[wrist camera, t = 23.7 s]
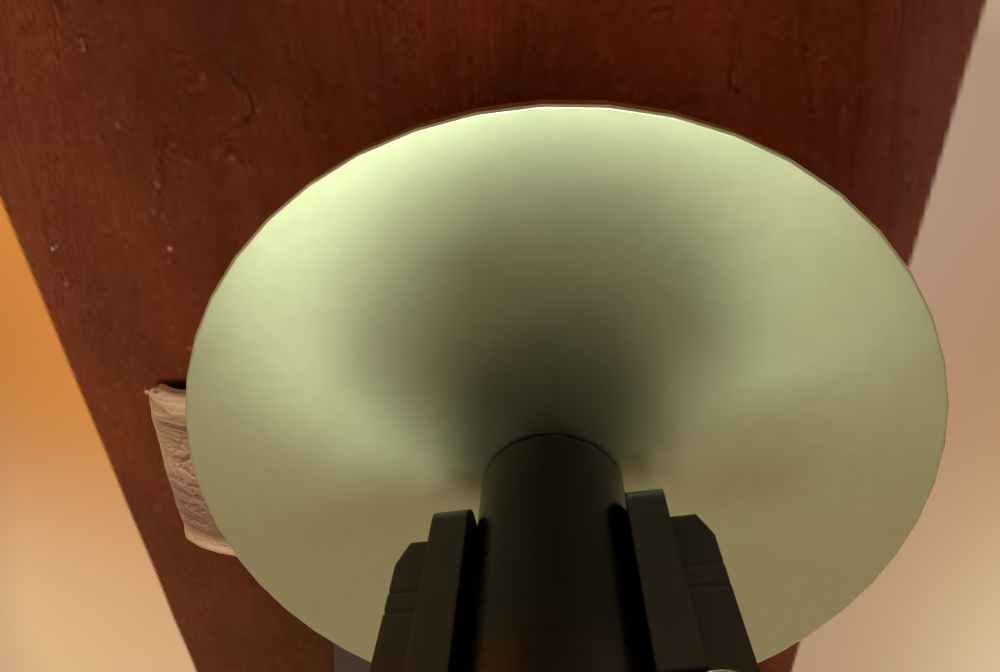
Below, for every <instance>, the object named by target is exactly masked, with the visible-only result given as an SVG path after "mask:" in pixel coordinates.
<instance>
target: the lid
mask: <svg viewBox="0 0 1000 672" xmlns="http://www.w3.org/2000/svg"><path fill="white" fill-rule="evenodd" d="M947 414H948V393H947V381H946V370H945V360H944V356H943V352H942V349H941V345H940V341H939V338H938V334H937V331H936V327H935V323H934V320H933V316H932V314H931V312H930V310H929V308H928V306H927V304H926V302H925V299H924V297H923V295H922V293H921V291H920V289H919V287H918V285H917V283H916V281H915V279H914V277H913V275H912V273H911V271H910V270H909V269H908V267H907V266H906V264H905V263H904V262H903V260H902V259H901V258H900V256H899V255H898V254H897V252H896V251H895V250H894V248H893V247H892V246H891V244H890V243H889V242H888V240H887V239H886V237H885V236H884V235H883V233H882V232H881V231H880V230H879V229H878V228H877V227H876V226H875V225H874V224H873V223H872V222H871V221H870V220H869V219H868V218H867V217H866V216H865V215H864V214H863V213H862V212H860V211H859V210H858V209H857V208H856V207H855V206H854V205H853V204H852V203H851V202H850V201H849V200H848V199H847V198H846V197H845V196H844V195H843V194H842V193H840V192H839V191H838V190H836V189H835V188H833V187H832V186H830V185H829V184H827V183H826V182H824V181H823V180H821V179H820V178H819V177H817V176H816V175H814V174H813V173H811V172H810V171H808V170H807V169H805V168H804V167H802V166H801V165H799V164H798V163H796V162H795V161H794V160H792V159H791V158H789V157H787V156H786V155H784V154H783V153H781V152H779V151H776V150H774V149H772V148H770V147H768V146H766V145H764V144H762V143H760V142H757V141H755V140H753V139H751V138H749V137H747V136H745V135H743V134H740V133H738V132H736V131H734V130H732V129H730V128H727V127H724V126H721V125H717V124H714V123H711V122H707V121H704V120H701V119H697V118H694V117H691V116H687V115H684V114H681V113H678V112H674V111H671V110H666V109H660V108H653V107H647V106H640V105H633V104H627V103H620V102H614V101H607V100H544V99H541V100H533V101H525V102H517V103H509V104H501V105H494V106H486V107H478V108H474V109H470V110H467V111H463V112H459V113H456V114H452V115H448V116H445V117H441V118H437V119H434V120H430V121H426V122H422V123H419V124H416V125H414V126H412V127H409V128H407V129H405V130H402V131H400V132H398V133H395V134H393V135H391V136H388V137H386V138H384V139H381V140H379V141H377V142H374V143H372V144H370V145H367V146H365V147H363V148H361V149H360V150H358V151H357V152H355V153H353V154H352V155H350V156H348V157H347V158H345V159H344V160H342V161H340V162H339V163H337V164H335V165H334V166H332V167H331V168H329V169H327V170H326V171H324V172H322V173H321V174H319V175H318V176H316V177H315V178H314V179H312V180H311V181H310V182H309V183H308V184H306V185H305V186H304V187H303V188H302V189H301V190H299V191H298V192H297V193H296V194H295V195H294V196H292V197H291V198H290V199H289V200H288V201H286V202H285V203H284V204H283V205H282V206H281V207H279V208H278V209H277V210H276V211H275V212H274V213H272V214H271V215H270V216H269V217H268V218H267V219H266V220H265V221H264V222H263V223H262V225H261V226H260V227H259V228H258V229H257V231H256V232H255V233H254V234H253V235H252V236H251V238H250V239H249V240H248V241H247V242H246V243H245V245H244V246H243V247H242V248H241V249H240V250H239V252H238V253H237V254H236V255H235V256H234V258H233V260H232V261H231V263H230V265H229V266H228V268H227V270H226V271H225V273H224V275H223V276H222V278H221V280H220V281H219V283H218V285H217V286H216V288H215V290H214V291H213V293H212V295H211V297H210V299H209V302H208V304H207V307H206V309H205V312H204V315H203V317H202V320H201V322H200V325H199V328H198V330H197V333H196V335H195V338H194V343H193V348H192V353H191V358H190V363H189V368H188V373H187V378H186V410H185V421H186V428H187V436H188V443H189V450H190V457H191V461H192V464H193V467H194V470H195V474H196V477H197V480H198V484H199V487H200V490H201V493H202V496H203V498H204V500H205V502H206V504H207V506H208V508H209V510H210V513H211V515H212V517H213V519H214V521H215V523H216V525H217V527H218V529H219V530H220V532H221V533H222V535H223V536H224V538H225V539H226V541H227V543H228V544H229V546H230V547H231V549H232V550H233V552H234V553H235V555H236V556H237V558H238V559H239V560H240V561H241V562H242V564H243V565H244V566H245V567H246V568H247V570H248V571H249V572H250V573H251V574H252V576H253V577H254V578H255V579H256V580H257V581H258V583H259V584H260V585H261V586H262V587H263V588H264V589H265V590H266V591H267V592H269V593H270V594H271V595H272V596H273V597H274V598H275V599H276V600H277V601H278V602H279V603H280V604H281V605H282V606H283V607H284V608H285V609H287V610H288V611H289V612H291V613H292V614H293V615H294V616H296V617H297V618H298V619H300V620H301V621H302V622H304V623H305V624H306V625H308V626H309V627H310V628H312V629H313V630H314V631H316V632H317V633H319V634H320V635H322V636H324V637H325V638H327V639H329V640H330V641H332V642H333V643H335V644H337V645H338V646H340V647H342V648H343V649H345V650H347V651H349V652H351V653H353V654H355V655H357V656H359V657H361V658H363V659H365V660H367V661H369V662H372V658H373V654H374V650H375V645H376V641H377V637H378V633H379V629H380V625H381V621H382V617H383V615H384V614H385V611H384V608H385V604H386V600H387V596H388V595H389V588H390V584H391V580H392V576H393V571H394V567H395V565H396V563H397V562H398V560H399V559H400V557H401V556H402V554H403V553H404V551H405V550H406V549H407V547H408V546H409V544H410V543H416V542H425V541H428V536H429V531H430V526H431V521H432V517H433V515H434V514H435V513H440V512H449V511H458V510H468V509H471V510H472V511H473V513H474V516H475V519H476V523H477V534H476V543H475V552H474V561H473V570H472V580H471V589H470V598H469V607H468V617H467V626H466V635H465V644H464V653H463V663H462V672H655V669H654V663H653V658H652V652H651V646H650V641H649V635H648V629H647V623H646V618H645V612H644V606H643V601H642V595H641V589H640V584H639V578H638V572H637V566H636V561H635V555H634V549H633V544H632V538H631V532H630V526H629V521H628V515H627V509H626V501H625V493H627V492H636V491H646V490H655V489H663V491H664V495H665V498H666V502H667V506H668V510H669V514H670V517H672V516H682V515H692V514H697V516H698V517H699V518H700V519H701V520H702V521H703V522H704V523H705V524H706V525H707V526H708V528H709V529H710V530H711V531H712V532H713V533H714V534H715V537H716V540H717V543H718V546H719V549H720V552H721V555H722V558H723V563H724V564H725V567H726V570H727V573H728V576H729V579H730V584H731V585H732V588H733V591H734V594H735V597H736V600H737V603H738V606H739V609H740V612H741V615H742V618H743V622H744V625H745V628H746V631H747V634H748V637H749V640H750V643H751V646H752V649H753V652H754V655H755V658H756V661H757V663H759V662H761V661H763V660H765V659H767V658H769V657H772V656H774V655H776V654H778V653H780V652H781V651H783V650H785V649H786V648H788V647H790V646H791V645H793V644H795V643H797V642H798V641H800V640H802V639H803V638H805V637H806V636H808V635H810V634H812V633H813V632H814V631H816V630H817V629H818V628H820V627H821V626H823V625H824V624H825V623H827V622H828V621H829V620H831V619H832V618H833V617H835V616H836V615H837V614H839V613H840V612H841V611H843V610H844V609H845V608H846V607H847V606H848V605H849V604H850V603H851V602H852V601H854V599H856V598H857V597H858V596H859V595H860V594H861V593H862V592H863V591H864V590H865V589H867V588H868V587H869V586H870V584H872V583H873V581H874V580H875V579H876V578H877V577H878V575H879V574H880V573H881V572H882V571H883V570H884V568H885V567H886V566H887V565H888V564H889V562H890V561H891V560H892V559H893V558H894V557H895V555H896V554H897V552H898V551H899V549H900V548H901V546H902V545H903V543H904V542H905V540H906V539H907V537H908V535H909V534H910V532H911V531H912V529H913V527H914V526H915V524H916V523H917V521H918V519H919V517H920V515H921V512H922V510H923V508H924V506H925V503H926V501H927V499H928V497H929V495H930V492H931V490H932V488H933V486H934V483H935V479H936V475H937V472H938V468H939V464H940V461H941V457H942V453H943V450H944V446H945V435H946V425H947Z"/></svg>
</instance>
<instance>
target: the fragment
mask: <svg viewBox="0 0 1000 672" xmlns="http://www.w3.org/2000/svg"><path fill="white" fill-rule="evenodd" d="M149 401H150V406H151V416H152V420H153V423H154V426H155V429H156V433H157V437H158V440H159V443H160V447H161V452H162V456H163V459H164V466H165V470H166V473H167V476H168V479H169V482H170V485H171V488H172V491H173V495H174V498H175V502H176V505H177V508H178V510H179V513H180V515H181V518H182V520H183V522H184V529H185V534H186V538H187V539H188V540H190V541H191V542H193V543H195V544H196V545H198V546H200V547H202V548H205V549H208V550H211V551H214V552H217V553H222V554H228V555H233V556H236V555H235V553H234V552H233V550H232V549H231V547H230V546H229V544H228V543H227V541H226V539H225V538H224V536H223V535H222V533H221V532H220V530H219V529H218V527H217V525H216V523H215V521H214V519H213V517H212V515H211V513H210V510H209V508H208V506H207V504H206V502H205V500H204V498H203V496H202V493H201V490H200V487H199V484H198V480H197V477H196V474H195V470H194V467H193V464H192V461H191V457H190V450H189V443H188V436H187V428H186V421H185V410H186V390H181V389H175V388H172V387H169V386H167V385H166V384H159V385H158V386H156V387H154V388H151V390H150V391H149Z"/></svg>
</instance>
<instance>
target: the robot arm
mask: <svg viewBox="0 0 1000 672" xmlns="http://www.w3.org/2000/svg"><path fill="white" fill-rule="evenodd" d="M625 501H626V509H627V515H628V521H629V526H630V532H631V538H632V544H633V549H634V555H635V561H636V566H637V572H638V578H639V584H640V589H641V595H642V601H643V606H644V612H645V618H646V623H647V629H648V635H649V641H650V646H651V652H652V658H653V663H654V669H655V672H761V671H760V668H759V666H758V664H757V661H756V658H755V655H754V652H753V649H752V646H751V643H750V640H749V637H748V634H747V631H746V628H745V625H744V622H743V618H742V615H741V612H740V609H739V606H738V603H737V600H736V597H735V594H734V591H733V588H732V585H731V584H730V579H729V576H728V573H727V570H726V567H725V564H724V563H723V558H722V555H721V552H720V549H719V546H718V543H717V540H716V537H715V534H714V533H713V532H712V531H711V530H710V529H709V528H708V526H707V525H706V524H705V523H704V522H703V521H702V520H701V519H700V518H699V517H698V516H697V514H692V515H682V516H672V517H670V514H669V510H668V506H667V502H666V498H665V495H664V491H663V489H655V490H646V491H636V492H627V493H625ZM476 534H477V523H476V519H475V516H474V513H473V511H472V510H471V509H468V510H458V511H449V512H440V513H435V514H434V515H433V517H432V521H431V526H430V531H429V536H428V541H425V542H416V543H410V544H409V546H408V547H407V549H406V550H405V551H404V553H403V554H402V556H401V557H400V559H399V560H398V562H397V563H396V565H395V567H394V571H393V576H392V580H391V584H390V588H389V595H388V596H387V600H386V604H385V608H384V611H385V614H384V615H383V617H382V621H381V625H380V629H379V633H378V637H377V641H376V645H375V650H374V654H373V658H372V662H371V666H370V670H369V672H462V663H463V653H464V644H465V635H466V626H467V617H468V607H469V598H470V589H471V580H472V570H473V561H474V552H475V543H476Z"/></svg>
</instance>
